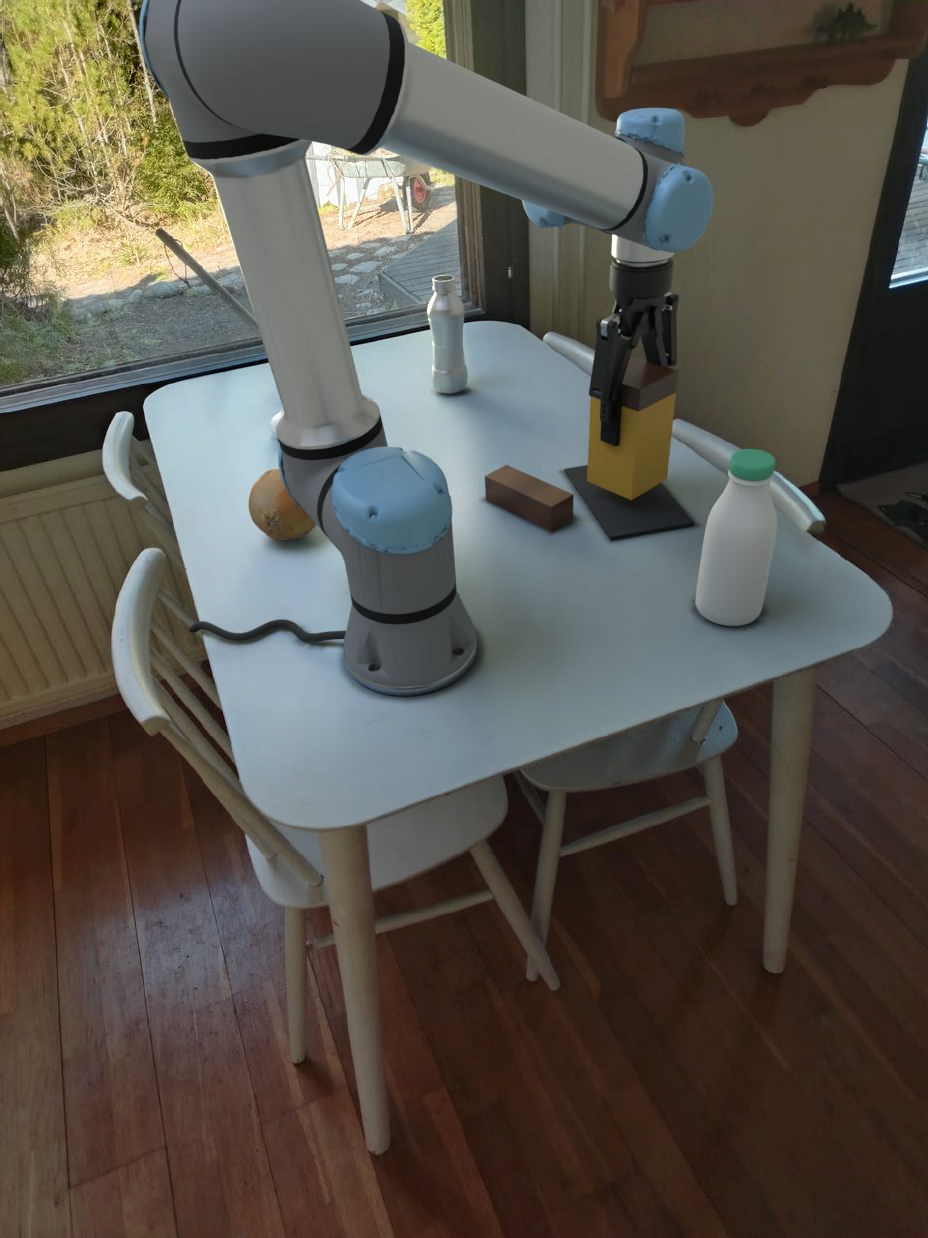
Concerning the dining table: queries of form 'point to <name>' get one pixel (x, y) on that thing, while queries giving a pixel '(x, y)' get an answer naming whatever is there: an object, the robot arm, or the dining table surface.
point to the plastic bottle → (447, 336)
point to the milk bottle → (739, 543)
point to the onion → (277, 509)
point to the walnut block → (529, 497)
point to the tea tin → (635, 432)
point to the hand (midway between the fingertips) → (630, 431)
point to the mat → (629, 508)
